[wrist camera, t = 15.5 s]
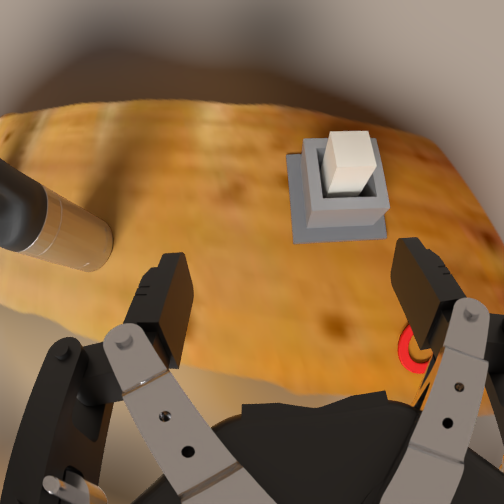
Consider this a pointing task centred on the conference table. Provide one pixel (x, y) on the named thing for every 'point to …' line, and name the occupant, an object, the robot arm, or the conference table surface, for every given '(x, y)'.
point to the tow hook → (404, 353)
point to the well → (333, 201)
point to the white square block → (346, 164)
